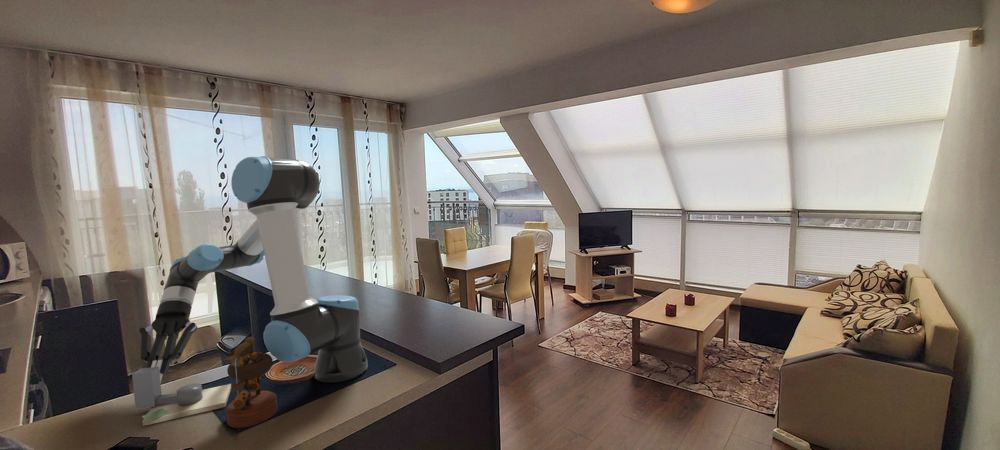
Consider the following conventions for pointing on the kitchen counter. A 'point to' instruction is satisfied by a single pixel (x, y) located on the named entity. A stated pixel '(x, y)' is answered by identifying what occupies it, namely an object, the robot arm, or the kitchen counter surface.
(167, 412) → the board
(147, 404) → the grey block with ball
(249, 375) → the music box
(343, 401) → the kitchen counter surface
